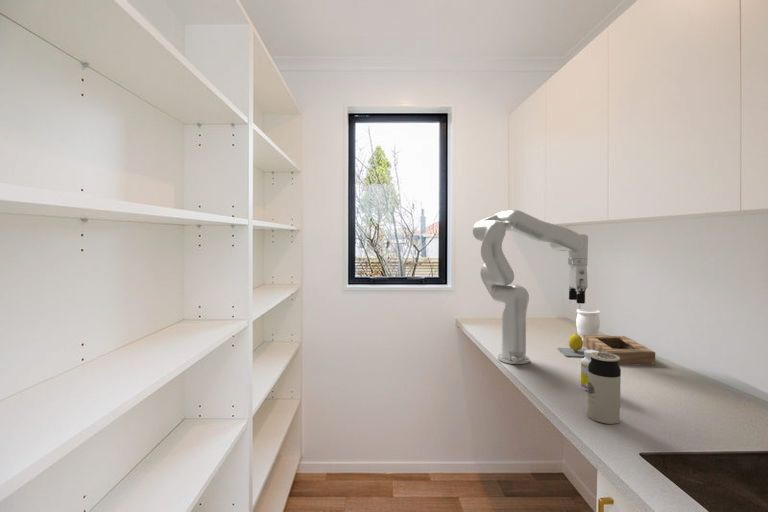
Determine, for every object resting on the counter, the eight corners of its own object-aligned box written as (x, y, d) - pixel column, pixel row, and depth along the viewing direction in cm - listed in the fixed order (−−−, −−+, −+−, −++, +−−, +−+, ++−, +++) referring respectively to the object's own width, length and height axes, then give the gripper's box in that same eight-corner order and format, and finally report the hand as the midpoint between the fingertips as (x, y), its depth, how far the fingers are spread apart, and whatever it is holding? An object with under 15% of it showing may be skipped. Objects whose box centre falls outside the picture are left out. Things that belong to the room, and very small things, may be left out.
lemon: (581, 350, 175) (581, 332, 174) (583, 354, 169) (584, 335, 169) (567, 349, 176) (567, 331, 176) (569, 352, 171) (570, 334, 170)
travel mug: (615, 414, 113) (617, 352, 112) (622, 426, 106) (624, 361, 105) (585, 410, 116) (586, 350, 115) (589, 422, 108) (591, 358, 108)
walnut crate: (654, 365, 156) (655, 352, 156) (606, 363, 158) (607, 350, 158) (624, 347, 182) (624, 335, 181) (583, 345, 184) (583, 334, 184)
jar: (575, 336, 200) (576, 307, 200) (598, 339, 196) (599, 309, 195) (575, 341, 191) (576, 311, 190) (599, 344, 186) (600, 313, 186)
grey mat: (595, 358, 166) (595, 356, 166) (566, 356, 167) (566, 355, 167) (585, 349, 177) (585, 348, 177) (557, 348, 179) (557, 347, 179)
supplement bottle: (592, 384, 136) (592, 348, 135) (607, 391, 130) (608, 353, 129) (575, 386, 134) (576, 349, 134) (590, 394, 128) (591, 355, 127)
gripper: (594, 263, 161) (593, 305, 162) (579, 261, 178) (578, 298, 179) (575, 263, 162) (574, 304, 163) (562, 261, 179) (561, 298, 180)
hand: (576, 301), depth 171 cm, fingers open, 9 cm apart
